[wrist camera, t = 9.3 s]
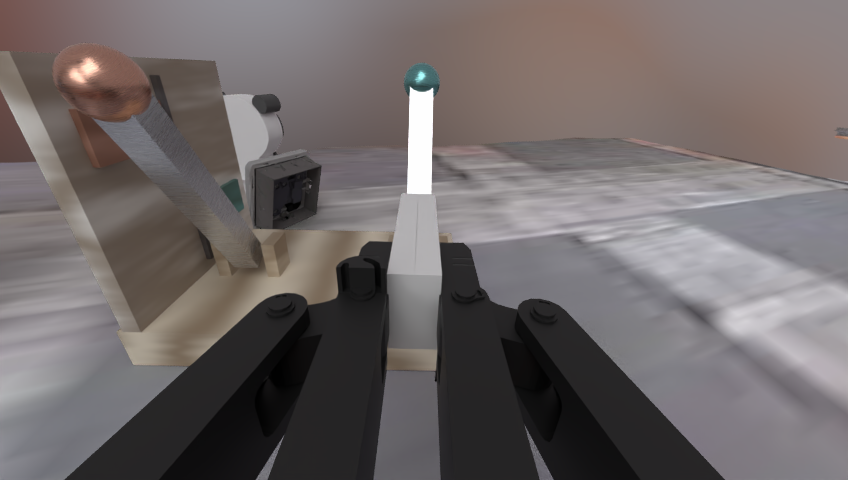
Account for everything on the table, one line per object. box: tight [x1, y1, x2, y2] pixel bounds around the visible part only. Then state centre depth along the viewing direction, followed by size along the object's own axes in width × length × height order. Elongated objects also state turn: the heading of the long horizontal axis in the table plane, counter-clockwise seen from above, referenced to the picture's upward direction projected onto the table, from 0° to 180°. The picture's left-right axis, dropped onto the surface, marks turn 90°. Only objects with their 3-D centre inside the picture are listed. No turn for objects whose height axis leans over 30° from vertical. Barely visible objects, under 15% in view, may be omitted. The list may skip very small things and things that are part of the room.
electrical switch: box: [245, 149, 321, 230], centre depth 43 cm, size 9×5×9 cm, turn 153°
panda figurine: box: [222, 92, 284, 194], centre depth 54 cm, size 12×11×15 cm
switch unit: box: [0, 51, 453, 371], centre depth 26 cm, size 23×16×19 cm
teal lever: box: [404, 63, 440, 194], centre depth 29 cm, size 3×3×17 cm
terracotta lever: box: [52, 43, 263, 268], centre depth 21 cm, size 3×3×17 cm
